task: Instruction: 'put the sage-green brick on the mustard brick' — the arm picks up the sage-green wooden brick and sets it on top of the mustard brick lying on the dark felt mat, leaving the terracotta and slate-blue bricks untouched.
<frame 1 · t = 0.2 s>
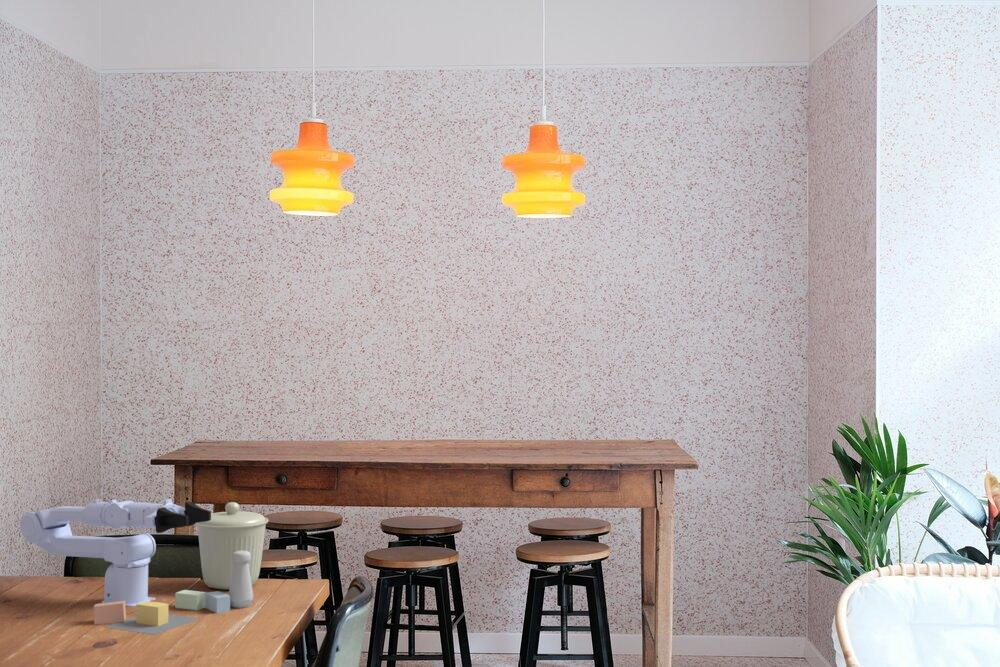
hand: (198, 518, 227), 21 cm above the table, tool horizontal, fingers open, 7 cm apart
green brick: (190, 610, 229), on the table
felt mat: (152, 624, 215), on the table
terracotta brick: (110, 622, 216), on the table, tilted 5°, touching felt mat
mustard brick: (152, 622, 215), resting on felt mat
slate brick: (217, 612, 227), on the table
canister: (231, 586, 253), on the table
salt shaker: (240, 608, 231), on the table
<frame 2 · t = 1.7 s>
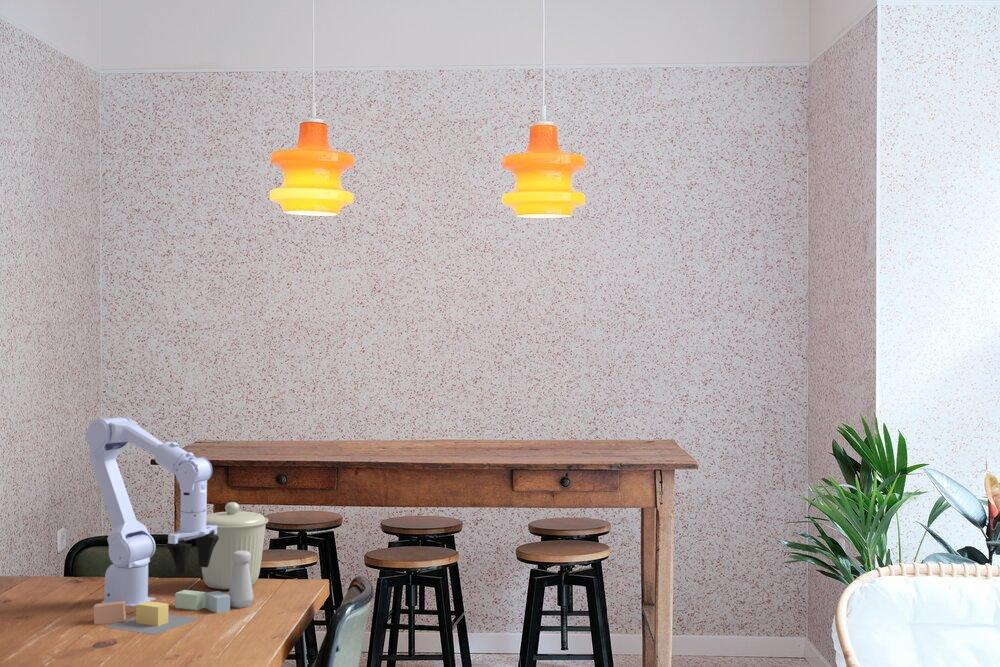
hand: (192, 570, 229), 9 cm above the table, tool pointing down, fingers open, 7 cm apart
nothing on the table moved.
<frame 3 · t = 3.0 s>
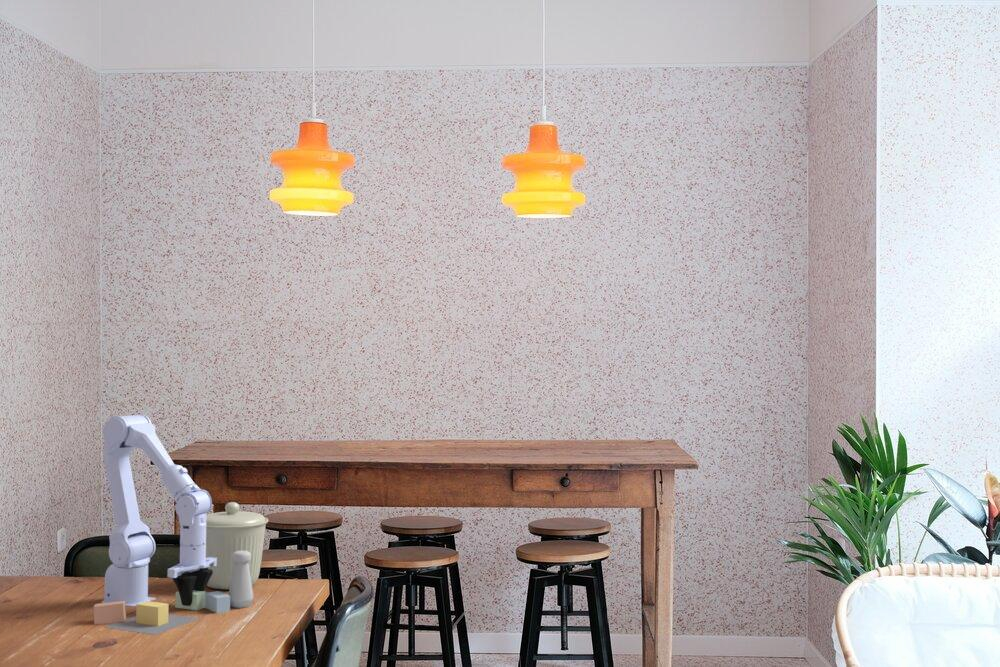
hand: (192, 603, 229), 1 cm above the table, tool pointing down, fingers closed on green brick, 3 cm apart
green brick: (190, 609, 229), on the table, touching gripper
everything else where it was.
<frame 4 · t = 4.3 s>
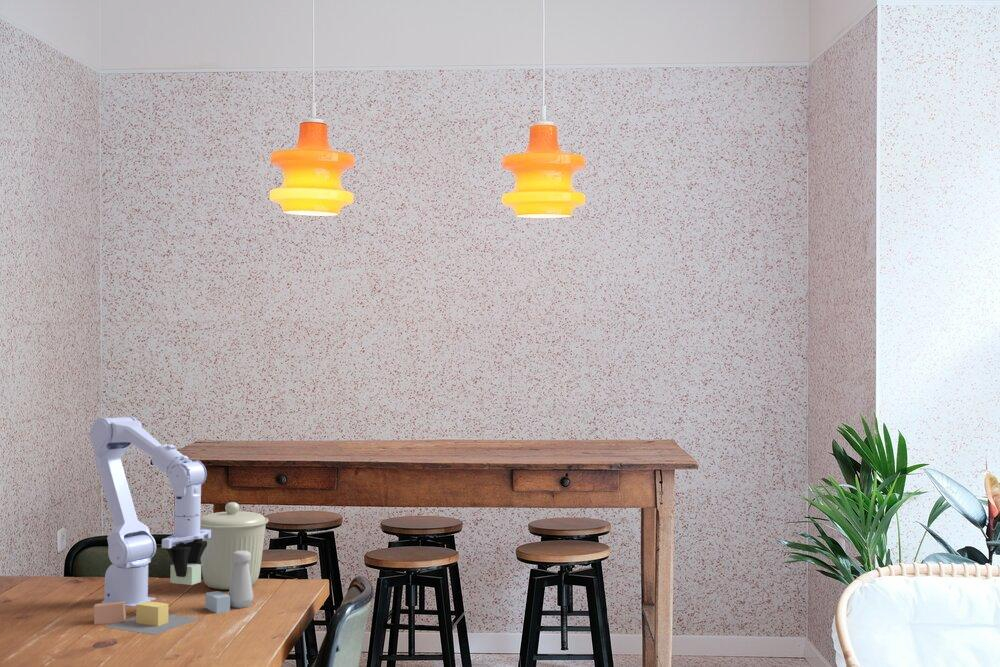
hand: (186, 574, 227), 8 cm above the table, tool pointing down, fingers closed on green brick, 3 cm apart
green brick: (185, 582, 227), point 7 cm above the table, touching gripper
everything else where it was.
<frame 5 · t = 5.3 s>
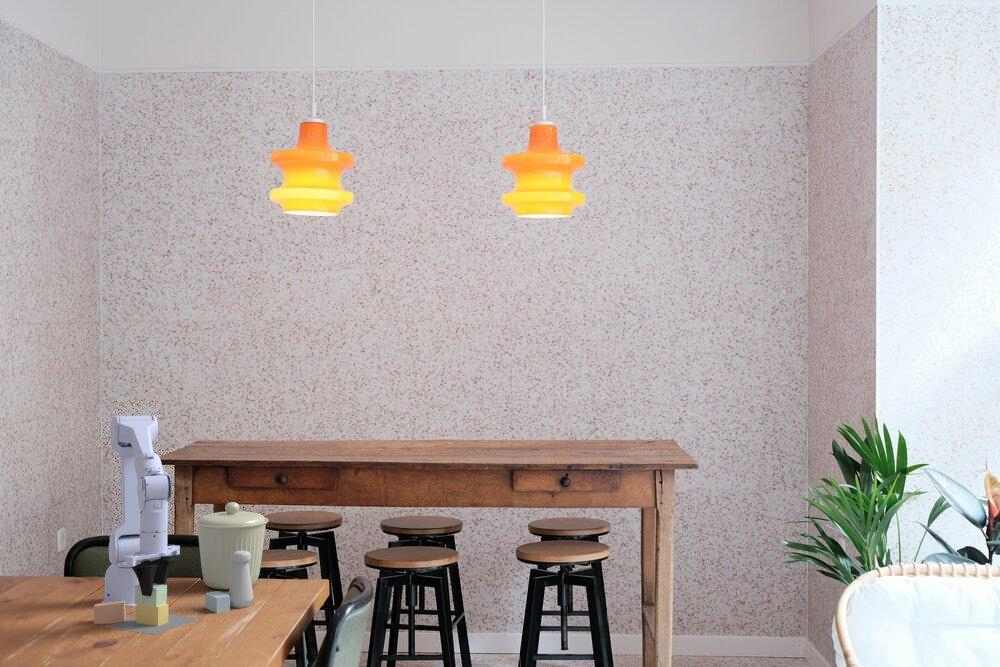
hand: (152, 593, 215), 7 cm above the table, tool pointing down, fingers closed on green brick, 3 cm apart
green brick: (150, 603, 216), point 4 cm above the table, touching gripper, mustard brick
mustard brick: (152, 622, 215), resting on felt mat, touching green brick
everything else where it was.
when the fingers open (7 cm above the table, at t = 5.5 s): green brick stays where it is, resting on mustard brick.
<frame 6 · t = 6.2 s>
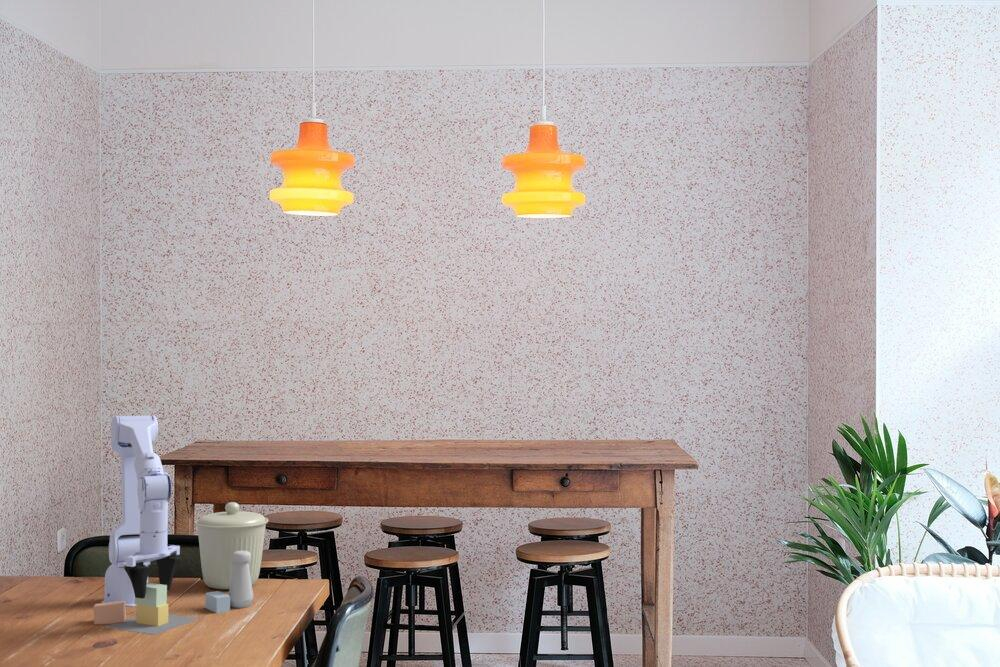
hand: (152, 593, 216), 7 cm above the table, tool pointing down, fingers open, 7 cm apart
green brick: (150, 603, 216), point 4 cm above the table, touching mustard brick
everything else where it was.
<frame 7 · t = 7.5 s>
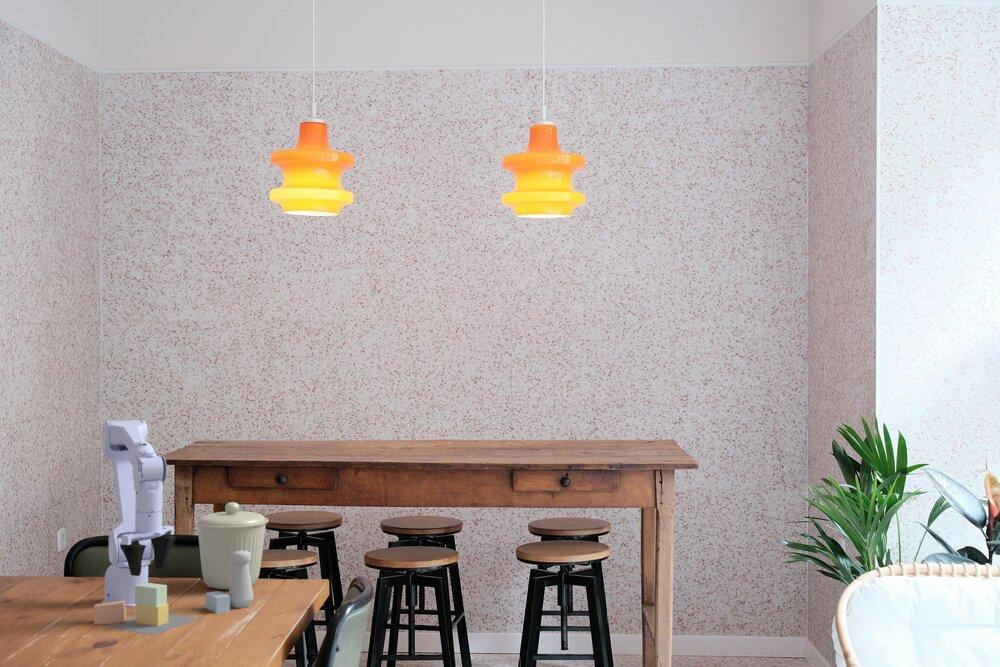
hand: (147, 571, 223), 10 cm above the table, tool pointing down, fingers open, 7 cm apart
nothing on the table moved.
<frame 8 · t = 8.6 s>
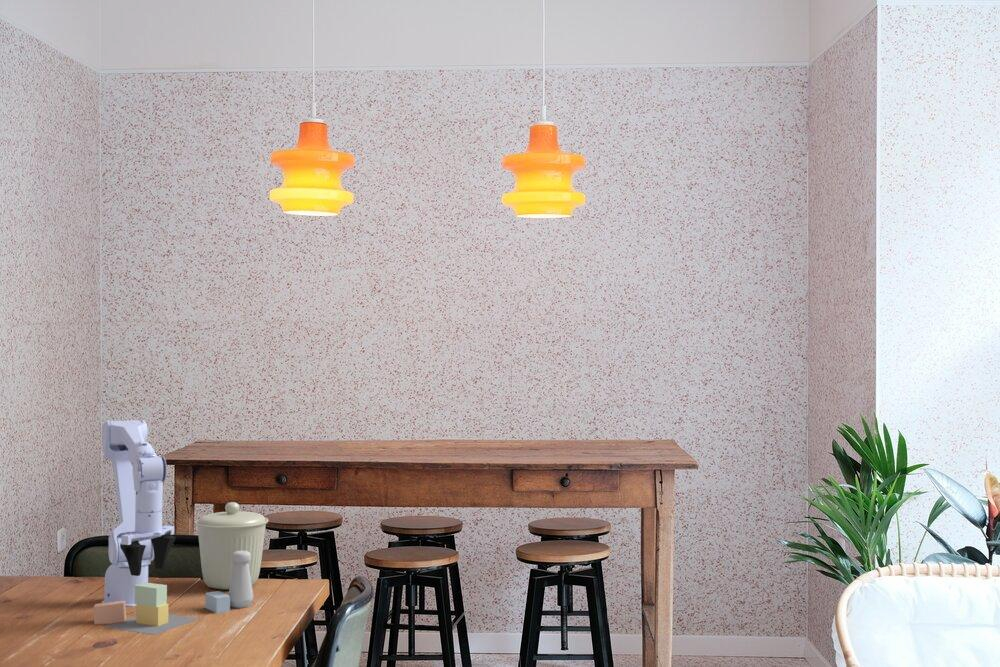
hand: (147, 571, 223), 10 cm above the table, tool pointing down, fingers open, 7 cm apart
nothing on the table moved.
at the end: green brick 0.5 cm off-centre on the mustard brick, point 4.0 cm above the mustard brick's base; terracotta brick moved 0.3 cm from its start; slate brick moved 0.4 cm from its start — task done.
